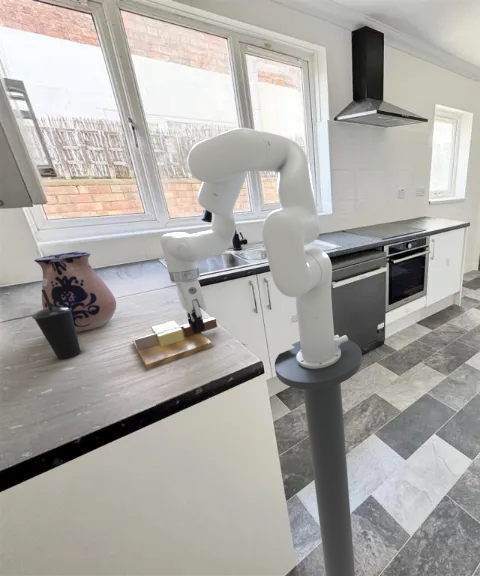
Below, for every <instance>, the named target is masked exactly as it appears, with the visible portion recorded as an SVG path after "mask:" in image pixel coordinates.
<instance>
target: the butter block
mask: <svg viewBox="0 0 480 576" xmlns="http://www.w3.org/2000/svg"><path fill="white" fill-rule="evenodd" d="M179 326H180V325H178V324H177V323H176V321H175V320H171V321H167V322H164V323H160V324H157V325H153V326H151V331H152V334H156V333H159V332H163V331H166V330H170V329H173V328H177V327H179Z"/></svg>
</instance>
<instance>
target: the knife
mask: <svg viewBox="0 0 480 576" xmlns="http://www.w3.org/2000/svg"><path fill="white" fill-rule="evenodd" d="M203 323H204V327H205V330H204V331H201V332H198V333H204V332H207V331H211V330H213V329H216V328H218V323H217V319H216V318H215V317H214V316H213V317H209V318H206V319H203ZM187 324H188V323H187ZM184 325H185V324H184ZM179 326H180V327H177V328H181V329H182V331H183V335H184V336H186V337H188V336H191V335H194V334H197V333H194V332H193V329H192V325H191V324H188V325H185V326H181V325H179ZM177 328H173V329H177ZM173 329H170V330H173ZM170 330H166V331H163V332H167V331H170ZM163 332H159V333H156V334H153V333H152V334H153V335H150V334H148V335H149V336H147V335H145V336H146V337H143V336H141V337H142V338H140V337H138V338H139V339H137V338H134V339H135V343H136V346H137V349H138V351H140V350H143V349H146V348H149V347H152V346H156V345H159V340H158V337H157V334H160V333H163ZM137 349H136V350H137ZM138 351H137V352H138Z"/></svg>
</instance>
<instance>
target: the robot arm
mask: <svg viewBox="0 0 480 576" xmlns="http://www.w3.org/2000/svg"><path fill="white" fill-rule="evenodd" d="M186 162H187V168H188V171H189V173H190V174H191V175H192V176H193V177H194V178H195V179H196V180H197V181H199V182H201V186H200V187H199V191H198V194H197V197H196V199H197V202H198V204H199V205H200V207H202V208H203V209H204V210H206V211H207V212H209V213H210V214H213V215H214V217H213V221H212V224H211V226H210V227H209V228H210V229H209V230H205V231H199V232H196V233H191V234H189V233H187V232H169V233H165V234H162V236H161V237H160V244H161V248H162V252H163V257H164V261H165V264H166V268H167V272H168V276H169V279H170V283H171V284H175V287H176V288H175V289H176V292H177V296H178V297H177V298H178V301H179V302H180V304H179V305H180V306H181V308H182V309H183V310H184V311H185V312H186V313H185V314H186V316H187V321H188V323H189V324H191V325H192V329H193V332H194V333H198V332H201V331H204V330H205V327H204V323H203V320H204V318H203V314H202V311H201V310H203V311H206V310H207V304H206V301H205V297H204V293H203V290H202V286H201V284H200V281H199V279H201V275H200V269H199V266H198V262H201V261H204V260H208V259H209V258H213V257H216V256H219V255H222V254H224V253H226V252H227V250H228V249H229V247H230V246H231V244H232V241H233V239H234V237H235V234H236V231H237V224H236V217H235V214H234V212H233V210H234V208H235V205H236V203H237V200H238V198H239V196H240V193H241V190H242V188H243V185H244V184H245V181H246V178H247V176H248V173H249V172H273V173H277V174H278V176H277V181H276V183H277V184H276V192H277V193H276V194H277V197H278V201H279V207H280V208H278V209H275V210H273V211H271V212H270V213H269V214H267V216H266V217H265V219H264V221H263V224H262V240H263V245H264V249H265V253H266V254H265V255H266V258H267V262H268V266H269V271H270V274H271V278H272V281H273V283H274V286H275V287H276V289H277V290H278V291H279V292H280V293H281V294H283V295H284V296H286V297H289V298H295V309H296V318H297V325H298V326H297V327H298V334H299V341H300V344H301V350H300V351H299V352H298V353H297V356H296V358H297V362H298V364H299V365H301V366H303V367H305V368H310V369H318V368H324V367H328V366H330V365H332V364H334V363H336V362H337V361H338V360H339V359H340V357H341V350H340V348H339V347H338V346H340V344H341V343H344V342H346V341H348V340H349V337H348V336H347V335H346V334H344V335H342V336H340V335H339V334H336V335H335V328H334V315H333V300H332V281H333V265H332V261H331V259H330V257H329V255H328V254H327V253H326V252H325V251H324V250H322V249H320V248H316V247H309V248H305V246H307V245H309V244H311V243H313V242H314V241H316V240H317V239H318V238H319V236H320V234H321V224H320V219H319V212H318V208H317V207H318V206H317V202H316V195H315V191H314V186H313V181H312V180H313V179H312V172H311V166H310V162H309V159H308V156H307V154H306V152H305V151H304V149H303V148H302V146H301V145H299V144H298V143H297V142H296V141H294V140H292V139H290V138H288V137H285V136H282V135H279V134H277V133H273V132H272V133H271V132H268V131H262V130H257V129H254V128H253V129H252V128H248V127H237V128H233V129H229V130H227V131H224V132H222V133H219V134H217V135H214V136H211V137H209V138H206V139H204V140H201V141H199V142H197V143H196V144H195V145H193V146H192V147H191V149H190V150H189V152H188V155H187V161H186ZM204 332H205V331H204ZM201 333H202V332H201ZM339 337H340V338H339Z"/></svg>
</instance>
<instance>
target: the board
mask: <svg viewBox="0 0 480 576" xmlns="http://www.w3.org/2000/svg"><path fill="white" fill-rule="evenodd" d="M188 324H189V322H188V323H185V324H182V325H178V326H179V327H180V326H185V325H188ZM149 335H153V333H151V334H147V335H144V336H140V337H136V338H133V339H132V343H133V346H134V347H135V349H136V351H137V353H138V354H139V357H140V358H141V360H142V362H143V364H144V366H145V367H146V369H147V370H150V369H153V368H156V367H159V366H161V365H164V364H168V363H170V362H174V361H176V360H179V359H181V358H184V357H187V356H190V355H192V354H195V353H198V352H202V351H204V350H207V349H209V348H212V347H213V343H212V341H211V340H210V339H209V338H208V337H207V336H205V335H204V334H203V332H201V333H197V334H194V335H191V336H188V337H186V336H184V339H185V340H182V341H179V342H176V343H173V344H170V345H166V346H163V347H161V346H160V344H159V345H156V346H152V347H149V348H146V349H143V350H140V351H138V349H137V346H136V343H135V339H139V338H142V337H146V336H149Z"/></svg>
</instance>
